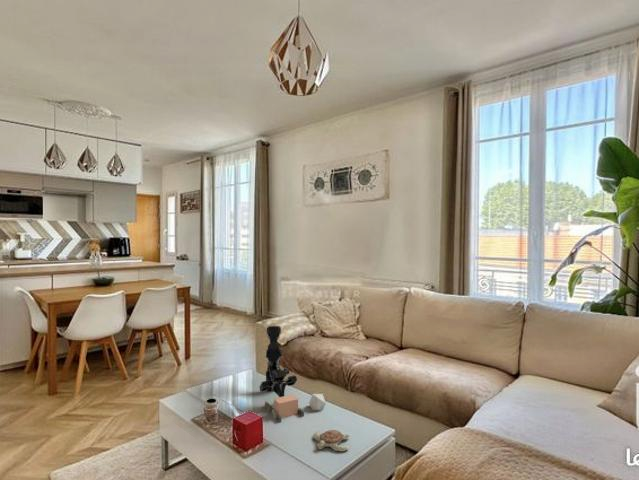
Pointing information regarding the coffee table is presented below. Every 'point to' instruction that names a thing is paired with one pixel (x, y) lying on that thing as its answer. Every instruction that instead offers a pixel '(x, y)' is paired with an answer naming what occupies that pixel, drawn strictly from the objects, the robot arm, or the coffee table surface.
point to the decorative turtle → (331, 440)
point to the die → (317, 402)
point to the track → (277, 413)
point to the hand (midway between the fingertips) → (283, 399)
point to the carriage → (286, 405)
